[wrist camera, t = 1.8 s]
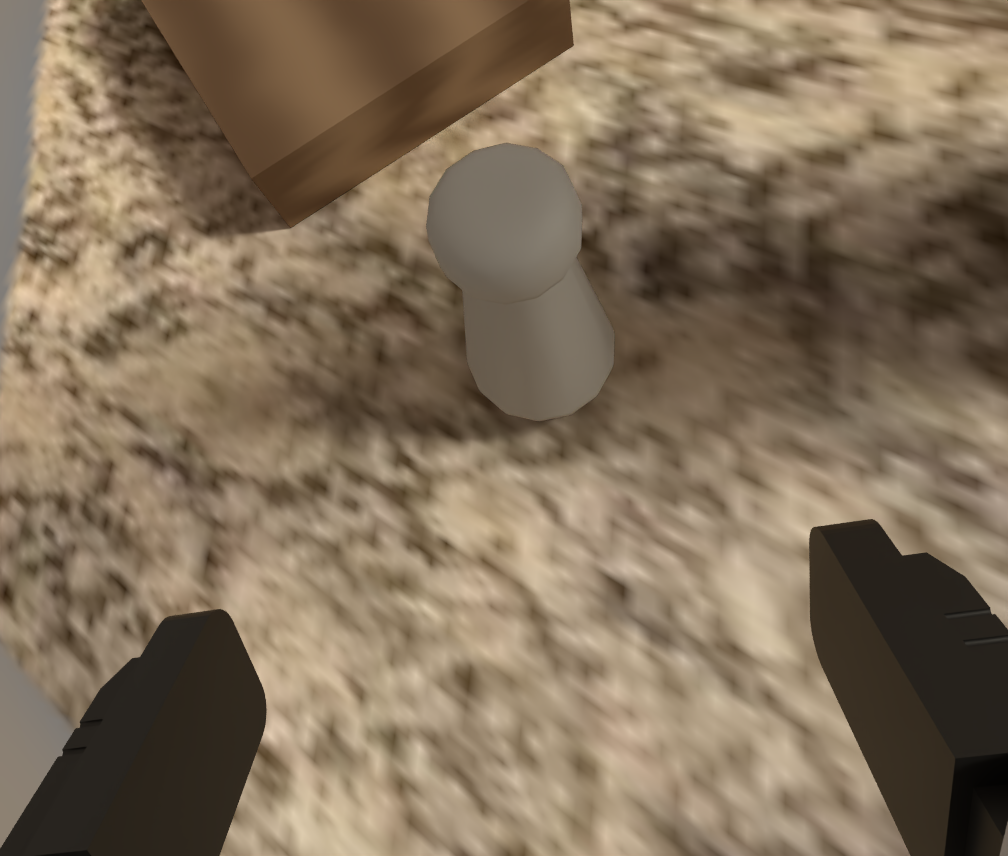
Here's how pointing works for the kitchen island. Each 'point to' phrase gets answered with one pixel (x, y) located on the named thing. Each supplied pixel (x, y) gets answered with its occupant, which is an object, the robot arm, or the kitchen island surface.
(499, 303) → the salt shaker
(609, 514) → the kitchen island surface
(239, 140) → the walnut riser
